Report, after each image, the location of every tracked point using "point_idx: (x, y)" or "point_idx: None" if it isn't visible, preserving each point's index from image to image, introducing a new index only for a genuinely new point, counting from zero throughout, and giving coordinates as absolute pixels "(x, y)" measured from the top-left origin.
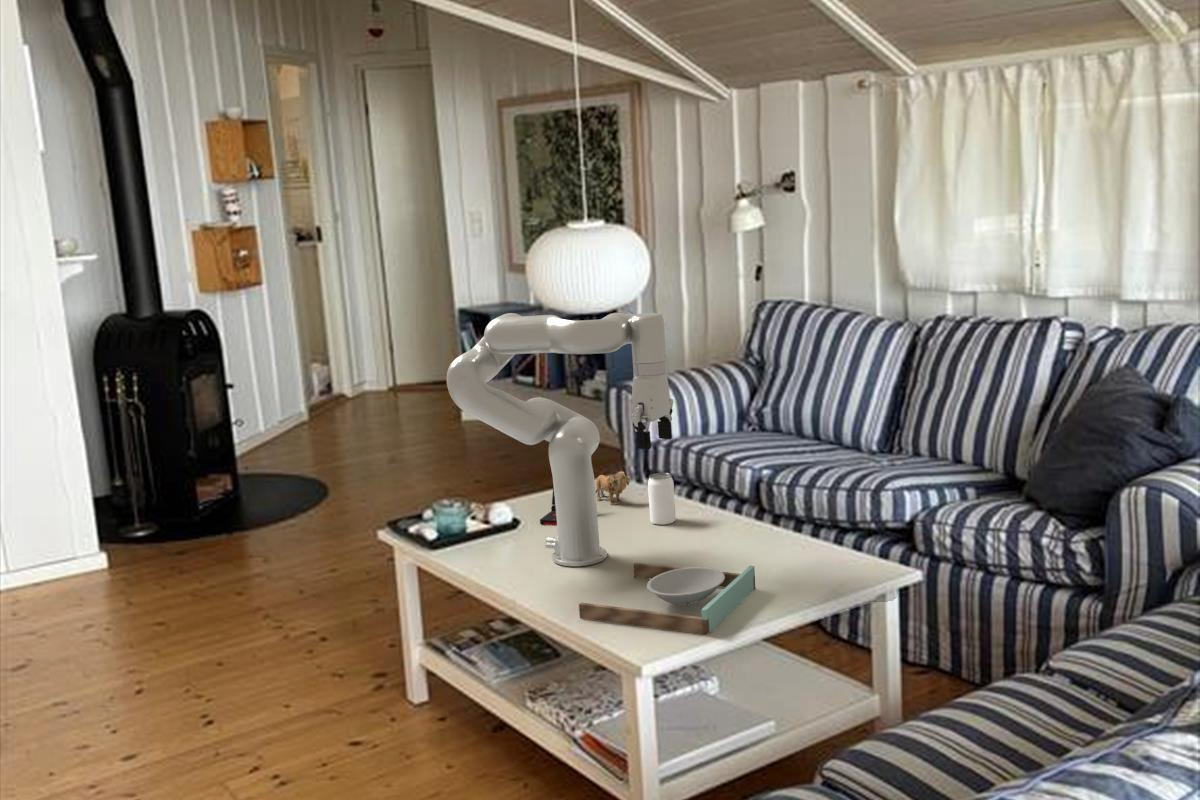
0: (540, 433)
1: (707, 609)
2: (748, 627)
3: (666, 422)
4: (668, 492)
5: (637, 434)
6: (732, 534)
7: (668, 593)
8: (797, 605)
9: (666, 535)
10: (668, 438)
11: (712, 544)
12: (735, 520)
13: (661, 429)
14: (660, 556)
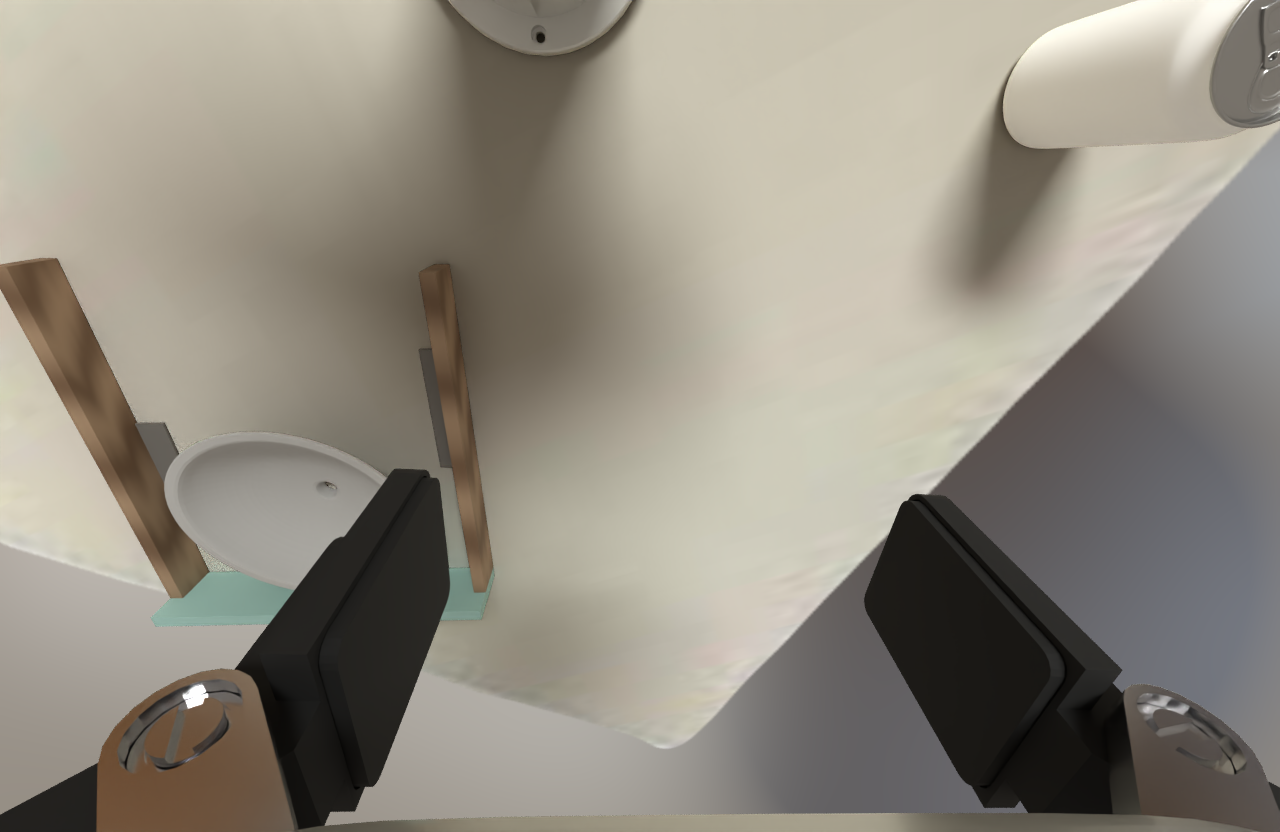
0: None
1: (165, 625)
2: None
3: (1006, 763)
4: (1131, 131)
5: (300, 615)
6: (888, 396)
7: (301, 453)
8: (443, 659)
9: (873, 184)
10: (868, 593)
11: (790, 375)
12: (1032, 356)
13: (954, 611)
14: (648, 262)
